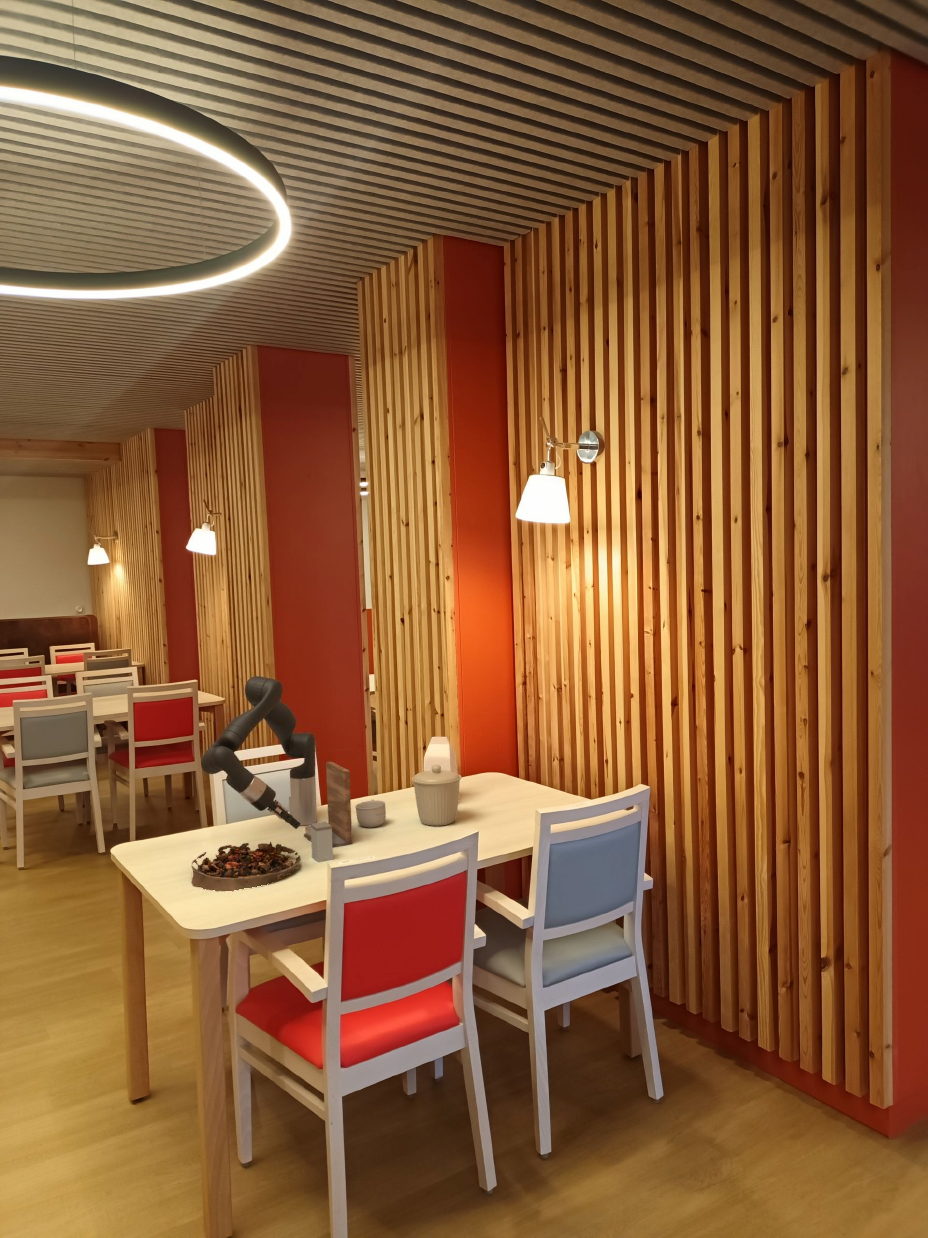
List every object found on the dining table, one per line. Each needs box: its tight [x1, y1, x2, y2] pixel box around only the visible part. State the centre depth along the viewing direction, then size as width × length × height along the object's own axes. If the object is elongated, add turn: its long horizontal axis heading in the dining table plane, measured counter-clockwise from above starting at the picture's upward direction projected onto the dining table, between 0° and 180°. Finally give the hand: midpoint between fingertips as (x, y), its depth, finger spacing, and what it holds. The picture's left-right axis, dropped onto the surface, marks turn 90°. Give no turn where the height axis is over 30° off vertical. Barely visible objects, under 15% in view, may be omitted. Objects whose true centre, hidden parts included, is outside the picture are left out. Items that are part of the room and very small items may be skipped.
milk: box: [423, 736, 461, 800], centre depth 358 cm, size 12×12×26 cm
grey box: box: [310, 821, 334, 863], centre depth 291 cm, size 5×6×11 cm
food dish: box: [190, 841, 302, 892], centre depth 281 cm, size 35×33×8 cm
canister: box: [411, 765, 462, 827], centre depth 329 cm, size 18×18×21 cm
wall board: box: [303, 761, 353, 848], centre depth 311 cm, size 11×18×25 cm, turn 28°
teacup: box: [354, 799, 387, 828], centre depth 330 cm, size 14×11×8 cm
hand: (294, 823), depth 287 cm, fingers open, 8 cm apart
